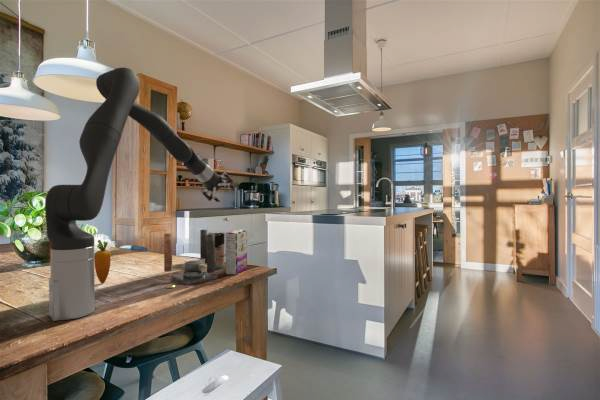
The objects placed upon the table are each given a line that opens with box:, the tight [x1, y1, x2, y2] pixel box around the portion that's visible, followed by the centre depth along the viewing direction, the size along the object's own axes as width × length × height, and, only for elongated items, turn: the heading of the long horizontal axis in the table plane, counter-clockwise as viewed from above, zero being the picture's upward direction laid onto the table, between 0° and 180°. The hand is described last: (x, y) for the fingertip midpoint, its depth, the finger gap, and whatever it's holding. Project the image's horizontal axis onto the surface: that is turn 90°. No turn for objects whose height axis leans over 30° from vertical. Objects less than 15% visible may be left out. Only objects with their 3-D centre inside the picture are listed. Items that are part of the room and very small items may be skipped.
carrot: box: [94, 239, 112, 284], centre depth 110 cm, size 5×5×15 cm
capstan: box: [163, 229, 216, 274], centre depth 116 cm, size 18×17×14 cm
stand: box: [165, 270, 218, 289], centre depth 116 cm, size 18×13×3 cm
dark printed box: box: [207, 230, 226, 270], centre depth 136 cm, size 7×7×15 cm
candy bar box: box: [225, 229, 248, 276], centre depth 129 cm, size 11×5×16 cm, turn 168°
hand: (225, 194), depth 151 cm, fingers open, 8 cm apart
